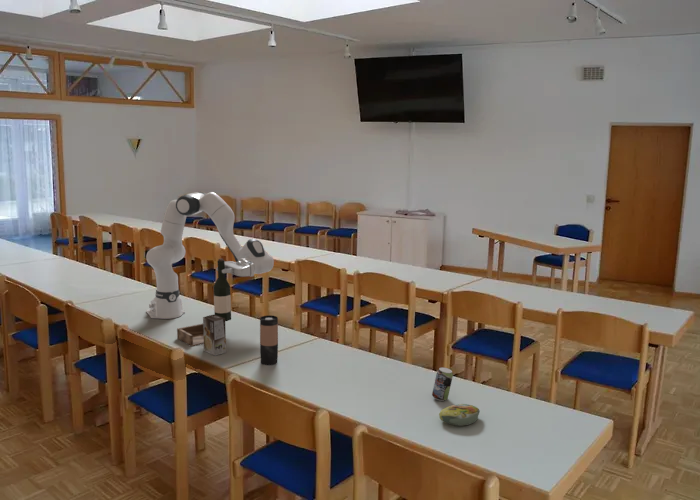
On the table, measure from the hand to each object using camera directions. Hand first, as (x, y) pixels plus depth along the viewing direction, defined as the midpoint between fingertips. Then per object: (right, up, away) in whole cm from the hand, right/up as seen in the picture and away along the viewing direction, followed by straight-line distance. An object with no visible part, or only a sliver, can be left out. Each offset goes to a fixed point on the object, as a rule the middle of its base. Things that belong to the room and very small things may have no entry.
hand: (219, 270), depth 295 cm
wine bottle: (0, -24, +6) cm, 25 cm away
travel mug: (+28, -39, -29) cm, 56 cm away
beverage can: (+97, -47, -63) cm, 125 cm away
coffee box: (+1, -36, -17) cm, 40 cm away
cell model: (+101, -50, -81) cm, 138 cm away
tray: (-10, -33, -1) cm, 35 cm away
